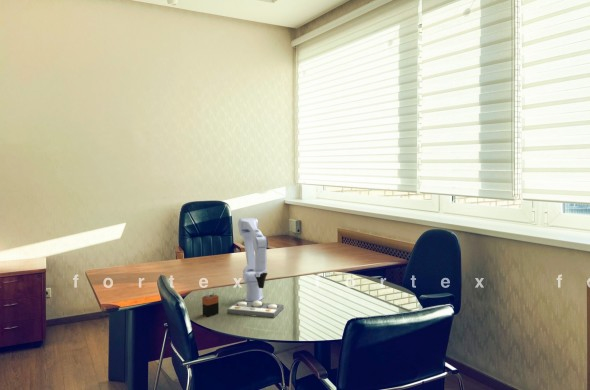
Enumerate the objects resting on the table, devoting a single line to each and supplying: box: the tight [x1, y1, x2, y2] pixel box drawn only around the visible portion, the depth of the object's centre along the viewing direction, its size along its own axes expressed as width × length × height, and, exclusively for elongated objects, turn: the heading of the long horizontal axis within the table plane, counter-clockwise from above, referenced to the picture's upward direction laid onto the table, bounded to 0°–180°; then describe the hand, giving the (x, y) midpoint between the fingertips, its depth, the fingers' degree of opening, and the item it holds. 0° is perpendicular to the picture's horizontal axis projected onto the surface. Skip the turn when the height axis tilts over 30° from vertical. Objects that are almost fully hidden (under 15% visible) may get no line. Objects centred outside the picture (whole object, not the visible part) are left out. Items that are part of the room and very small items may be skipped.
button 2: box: [253, 300, 263, 308], centre depth 237 cm, size 4×4×2 cm
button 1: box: [238, 301, 248, 306], centre depth 239 cm, size 4×4×2 cm
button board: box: [227, 300, 284, 319], centre depth 235 cm, size 14×24×2 cm, turn 73°
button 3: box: [268, 303, 277, 309], centre depth 235 cm, size 4×4×2 cm
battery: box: [201, 292, 220, 318], centre depth 230 cm, size 4×7×10 cm, turn 135°
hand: (261, 287), depth 239 cm, fingers closed
